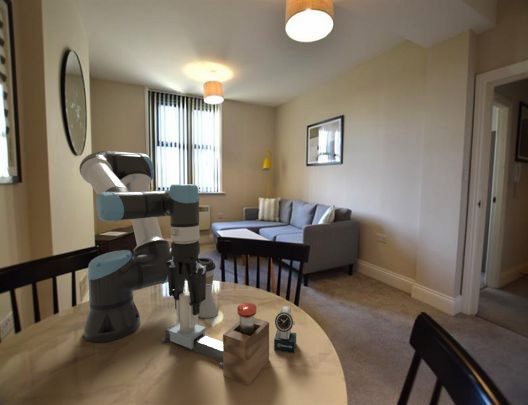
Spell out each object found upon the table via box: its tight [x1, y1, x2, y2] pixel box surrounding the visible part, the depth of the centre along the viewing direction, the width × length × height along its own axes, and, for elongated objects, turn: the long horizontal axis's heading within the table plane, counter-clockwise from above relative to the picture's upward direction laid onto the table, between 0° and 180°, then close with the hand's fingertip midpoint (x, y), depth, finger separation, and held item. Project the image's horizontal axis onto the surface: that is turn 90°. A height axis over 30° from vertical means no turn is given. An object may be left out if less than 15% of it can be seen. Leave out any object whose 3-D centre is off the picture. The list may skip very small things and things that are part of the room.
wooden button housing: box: [222, 317, 270, 387], centre depth 64 cm, size 7×10×10 cm
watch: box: [273, 305, 297, 354], centre depth 72 cm, size 6×8×11 cm
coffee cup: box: [191, 257, 216, 292], centre depth 102 cm, size 11×11×15 cm
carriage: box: [169, 290, 207, 350], centre depth 73 cm, size 8×6×13 cm
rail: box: [160, 324, 223, 368], centre depth 72 cm, size 22×6×3 cm, turn 62°
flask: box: [198, 284, 219, 319], centre depth 90 cm, size 7×7×10 cm
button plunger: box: [237, 302, 257, 336], centre depth 64 cm, size 5×5×6 cm
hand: (187, 322), depth 73 cm, fingers closed on carriage, 4 cm apart
